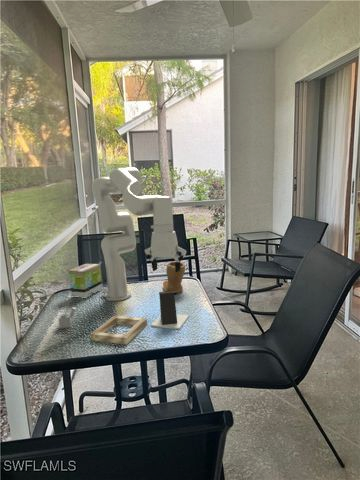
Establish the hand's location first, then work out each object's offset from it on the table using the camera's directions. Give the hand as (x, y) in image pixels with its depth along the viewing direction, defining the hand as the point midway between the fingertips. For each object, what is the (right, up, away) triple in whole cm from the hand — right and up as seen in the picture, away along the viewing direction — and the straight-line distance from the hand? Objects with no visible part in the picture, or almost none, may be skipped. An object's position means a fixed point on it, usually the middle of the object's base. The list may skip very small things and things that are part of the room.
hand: (166, 270), depth 131 cm
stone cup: (+3, -14, +42) cm, 44 cm away
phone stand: (+1, -21, +4) cm, 21 cm away
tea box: (-44, -17, +45) cm, 65 cm away
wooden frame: (-18, -23, -3) cm, 30 cm away
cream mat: (+2, -21, +4) cm, 21 cm away
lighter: (-40, -24, +5) cm, 47 cm away
